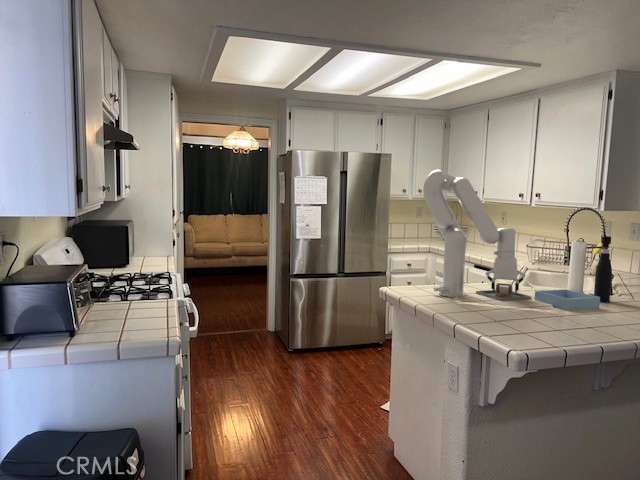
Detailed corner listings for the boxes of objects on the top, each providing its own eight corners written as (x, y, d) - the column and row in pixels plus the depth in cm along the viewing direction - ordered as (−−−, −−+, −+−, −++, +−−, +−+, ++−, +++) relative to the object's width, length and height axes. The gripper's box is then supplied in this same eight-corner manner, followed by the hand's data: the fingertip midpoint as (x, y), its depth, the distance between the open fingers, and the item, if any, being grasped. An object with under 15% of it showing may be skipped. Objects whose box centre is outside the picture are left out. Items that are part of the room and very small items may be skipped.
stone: (498, 294, 223) (499, 286, 222) (499, 293, 226) (499, 285, 226) (508, 295, 221) (508, 287, 221) (508, 294, 225) (508, 285, 225)
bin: (567, 310, 200) (568, 299, 200) (534, 301, 217) (535, 290, 217) (599, 308, 207) (600, 297, 206) (564, 299, 223) (565, 289, 223)
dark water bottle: (593, 301, 222) (598, 236, 220) (593, 299, 228) (598, 235, 225) (609, 303, 219) (615, 237, 217) (609, 300, 225) (614, 236, 222)
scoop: (495, 297, 219) (495, 286, 218) (495, 293, 230) (496, 282, 229) (511, 299, 216) (512, 288, 216) (511, 294, 227) (512, 284, 227)
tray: (500, 303, 212) (501, 298, 212) (475, 295, 228) (475, 290, 228) (531, 301, 218) (531, 296, 218) (504, 294, 234) (504, 289, 234)
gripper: (485, 254, 221) (484, 291, 222) (526, 256, 215) (525, 294, 216) (486, 253, 228) (485, 288, 229) (526, 254, 222) (524, 291, 223)
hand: (504, 291), depth 223 cm, fingers open, 9 cm apart
